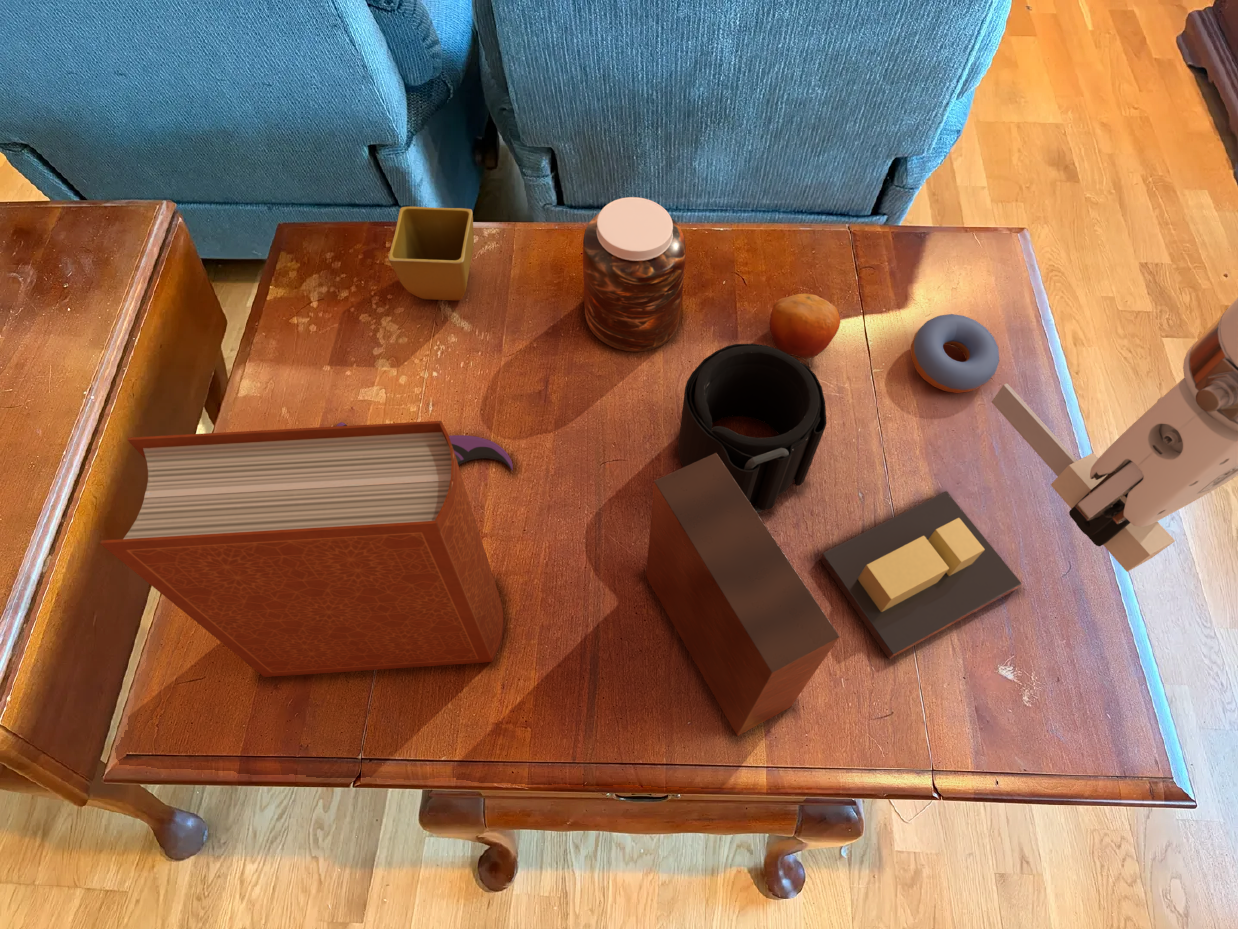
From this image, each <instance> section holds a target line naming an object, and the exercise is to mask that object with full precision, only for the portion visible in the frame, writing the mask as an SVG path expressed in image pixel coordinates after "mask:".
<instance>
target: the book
mask: <svg viewBox="0 0 1238 929" xmlns="http://www.w3.org/2000/svg"><path fill="white" fill-rule="evenodd" d="M449 436H450V435H449V433H448V431H447V429H446V428H445V424H444V423H443V421H442V420H426V421H411V422H410V421H409V422H407V421H406V422H393V423H371V424H355V425H353V424H352V425H347V426H337V425H336V426H335V425H334V426H319V427H318V426H317V427H315V426H314V427H299V428H284V429H283V428H282V429H281V428H278V429H262V430H244V431H242V430H241V431H225V432H223V431H221V432H206V433H187V434H186V433H185V434H169V435H168V434H167V435H151V436H134V437H127V441H128V443H129V444H130V445H131V446H132V447H133V448H134V449H135V450H136V451H137V452H138V453H139V454H140V455H141V457H142V458H143V459H144V460H146V465H147V484H146V489H145V493H144V497H143V502H142V505H141V508H140V510H139V512H138V514H137V517H136V519H135V521H134V522H133V524H132V525H131V527H130V529H129V530H128V532H127V533H126V534H125V535H124V537H123V538H119V539H118V538H117V539H102V540H99V544H100V545H101V546H102V547H103V548H105V549H106V550H107V551H108V552H110V553H111V554H112V555H113V556H114V557H116V558H117V559H118V560H119V561H121V562H122V563H123V564H124V565H126V566H127V567H128V568H129V569H130V570H132V571H133V572H134V573H136V575H138V576H139V577H140V578H142V579H143V580H144V582H147V583H148V584H149V585H150V586H151V587H152V588H154V589H155V590H156V591H157V592H158V593H160V594H161V595H162V596H163V597H165V598H166V599H167V600H168V601H170V602H171V603H172V604H174V606H176V607H177V608H178V609H179V610H181V611H182V612H183V613H185V615H187V616H188V617H190V618H191V619H192V620H193V621H195V622H196V623H197V624H198V625H199V626H200V627H202V628H203V629H204V630H206V631H207V632H208V633H209V634H210V635H212V637H214V638H216V640H218V641H219V642H220V643H222V644H223V645H224V646H225V647H227V648H228V649H229V650H230V651H231V652H233V653H234V654H235V655H236V656H237V657H239V658H240V659H241V660H243V661H244V662H245V663H246V664H247V665H248V666H250V668H252V669H253V670H254V671H256V672H257V673H259V674H260V675H261V676H262V677H264V678H269V677H285V676H300V675H314V674H315V675H316V674H330V673H346V672H360V671H376V670H389V669H407V668H421V667H436V666H437V667H438V666H450V665H451V666H452V665H466V664H480V663H481V664H482V663H492V662H494V659H495V657H496V655H497V653H498V650H499V648H500V646H501V641H502V638H503V631H504V611H503V604H502V601H501V598H500V594H499V591H498V588H497V584H496V582H495V581H496V580H495V578H494V575H493V572H492V569H491V565H490V561H489V559H488V555H487V553H486V549H485V547H484V543H483V539H482V537H481V536H482V535H481V533H480V529H479V527H478V524H477V521H476V516H475V514H474V511H473V508H472V505H471V501H470V498H469V495H468V491H467V488H466V485H465V483H464V479H463V475H462V473H461V472H462V471H461V469H460V467H459V466H460V465H458V463H457V459H456V456H455V453H454V450H453V447H452V444H451V441H450V438H449Z"/></svg>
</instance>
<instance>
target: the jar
mask: <svg viewBox="0 0 1238 929" xmlns="http://www.w3.org/2000/svg"><path fill="white" fill-rule="evenodd" d="M686 249H687V248H686V239H685V235H684V232H683V230H682V229H681V227H680V225H679V224H678V223H677V222H676V220H674V218H673V217H671V215H670V213H669V212H668V210H666V209H665V208H664V207H663V206H662V205H660V204H658V203H657V202H655V201H653V200H651V199H648V198H645V197H638V196H637V197H636V196H630V197H628V196H627V197H621V198H618V199H615V200H613V201H611V202H609V203H607V204H606V205H605V206H603V207H602V209H601V210H600V212H598V213H597V214H595V216H594V217H593V218H592V219H591V220H590V221H589V222H588V224H587V226H586V228H585V230H584V233H583V238H582V276H583V277H582V278H583V299H584V300H583V301H584V314H585V315H584V316H585V321H586V323H587V326H588V328H589V330H590V331H591V333H592V334H593V335H594V336H595V337H596V339H598V340H599V341H601V342H602V343H604V344H605V345H607V346H609V347H611V348H613V349H615V350H619V351H623V352H632V353H633V352H647V351H651V350H654V349H656V348H659V347H661V346H662V345H664V344H666V343H667V342H668V341H670V339H671V338H672V337H673V336H674V335H675V333H676V332H677V330H678V327H679V324H680V318H681V312H682V303H683V302H682V301H683V290H684V281H685V269H686V251H687V250H686Z"/></svg>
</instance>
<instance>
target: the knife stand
mask: <svg viewBox="0 0 1238 929" xmlns="http://www.w3.org/2000/svg"><path fill="white" fill-rule="evenodd" d="M753 506H754V505H752V503H750V502H749V500H748V499H747V497H746V496H745V494H744V493H743V491H742V490H741V489H740V487H739V486H738V484H737V483H736V481H735V480H734V478H733V477H732V475H731V474H730V472H729V471H728V469H727V468H726V466H725V465H724V463H723V462H722V460H721V459H720V457H719V456H718V454H717V453H714V454H712V455H710V456H708V457H706V458H703V459H701V460H699V461H697V462H694V463H692V464H690V465H688V466H686V467H683V466H682V468H679V469H677V470H675V471H672V472H670V473H668V474H666V475H664V476H662V477H660V478H657V479H655V480H653V488H652V501H651V513H650V523H649V524H650V525H649V536H648V548H647V559H646V560H647V561H646V572H645V578H646V579H647V581H648V583H649V585H650V586H651V588H652V590H653V592H654V593H655V595H656V597H657V599H658V600H659V602H660V604H661V606H662V607H663V609H664V611H665V613H666V614H667V616H668V618H669V620H670V622H671V623H672V625H673V627H674V629H675V630H676V632H677V634H678V635H679V637H680V639H681V641H682V643H683V644H684V646H685V648H686V649H687V651H688V653H689V655H690V656H691V658H692V660H693V661H694V664H695V666H696V667H697V668H698V670H699V672H700V674H701V676H702V678H703V679H704V681H705V683H706V684H707V686H708V687H709V689H710V691H711V693H712V695H713V697H714V698H715V700H716V702H717V703H718V705H719V707H720V708H721V711H722V713H723V714H724V716H725V717H726V719H727V721H728V723H729V724H730V727H731V728H732V730H733V731H734V734H735V735H736V736H737V737H738V736H741V735H743V734H744V733H746V732H748V731H749V730H751V729H754V728H755V727H757V726H759V725H761V724H763V723H764V722H766V721H768V720H770V719H771V718H773V717H775V716H777V715H779V714H781V713H783V712H784V711H786V710H788V709H790V708H791V707H792V706H793V704H795V702H796V700H797V699H798V697H799V696H800V694H801V693H802V692H803V690H804V689H805V687H806V686H807V684H808V683H809V681H810V680H811V679H812V678H813V676H814V674H816V671H817V670H818V669H819V667H820V666H821V664H822V663H823V661H824V660H825V659H826V657H827V656H828V654H829V653H830V652H831V650H832V648H833V647H834V646H835V644H836V643H837V641H838V640H839V639H840V637H841V636H840V634H839V632H838V631H837V629H836V628H835V627H834V626H833V624H832V622H831V620H830V619H829V618H828V616H827V615H826V613H825V611H824V610H823V609H822V607H821V606H820V605H819V603H818V601H817V600H816V598H815V597H814V595H813V593H811V591H810V590H809V588H808V586H807V585H806V584H805V582H804V581H803V579H802V577H801V576H800V574H799V573H798V572H797V570H796V568H795V567H794V566H793V564H792V562H791V561H790V560H789V558H788V557H787V555H786V553H785V552H784V551H783V549H782V548H781V547H780V544H778V542H777V540H776V539H775V538H774V536H773V535H772V533H771V532H770V530H769V529H768V527H767V526H766V524H765V522H764V521H763V519H762V518H761V517H760V515H759V514H758V513H757V512H756V511H755V509H754V508H753Z"/></svg>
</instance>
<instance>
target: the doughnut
mask: <svg viewBox="0 0 1238 929" xmlns="http://www.w3.org/2000/svg"><path fill="white" fill-rule="evenodd" d="M996 341H997V340H996V339H995V337H994V336H993V334H992V333H991V332H990V331H989V330H988V328H987V327H985V326H984V325H983V324H982V323H980V322H979V321H977V320H976V319H973V318H970V317H968V316H966V315H963V314H962V315H961V314H955V313H948V314H941V315H937V316H935V317H932V318H930V319H928V320H927V321H926V322H924V323H923V325H922V326H921V327H920V328H919V329H918V330H917V331H916V332H915V334H914V336H913V338H912V341H911V344H910V357H911V361H912V364H913V366H914V368H915V370H916V371H917V373H918V374H919V376H920V377H921V378H922V379H923V380H924V381H926V382H927V384H930V385H931V386H932V387H934V388H936V389H939V390H941V391H944V392H948V393H955V394H960V393H967V392H973V391H975V390H977V389H978V388H980V387H983V386H984V385H986V384H987V383H989V381H990V380H991V379H992V377H993V376H994V375H995V374H996V372H997V370H998V366H999V364H1000V351H999V345H998V344H997V342H996ZM944 346H953V347H955V348H957V349H958V350H960V351H961V352H962V353H963V355H964V357H965V361H959V360H956V359H953V358H952V357H950V356H949V355H948V353H946V351H945V348H944Z"/></svg>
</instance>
